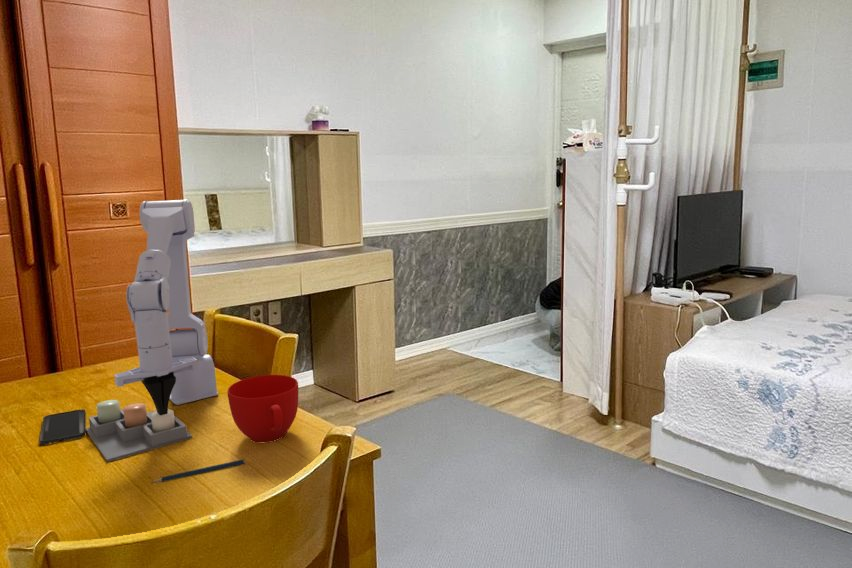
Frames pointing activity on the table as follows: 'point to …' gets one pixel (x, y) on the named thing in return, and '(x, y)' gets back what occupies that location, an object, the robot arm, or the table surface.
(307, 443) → the table surface
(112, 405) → the pale green rounded block
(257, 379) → the ceramic cup
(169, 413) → the ivory key
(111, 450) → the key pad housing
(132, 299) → the robot arm
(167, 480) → the pencil
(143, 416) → the terracotta key
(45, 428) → the phone
